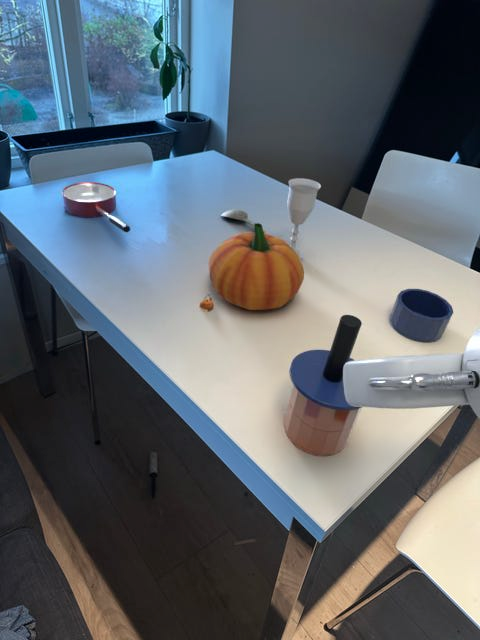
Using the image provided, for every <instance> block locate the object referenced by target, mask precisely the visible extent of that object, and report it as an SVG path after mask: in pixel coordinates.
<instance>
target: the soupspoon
mask: <svg viewBox="0 0 480 640" xmlns="http://www.w3.org/2000/svg"><path fill="white" fill-rule="evenodd" d="M220 216H221V217H224V218H228V219H235V220H239V221H243V222H245V223H247V224H249V225H251V226H252V227H254V224H255V223H253V221H250V220H248V217H249V216H248V213H247V212H246V211H244V210H242V209H238V208H237V209H236V208H235V209H229V210H226V211H224V212H223V213H222V214H221V215H220ZM263 231H264V233H265V234H268V235H270V234H269V233H268V232H267V231H265V230H264V229H263Z"/></svg>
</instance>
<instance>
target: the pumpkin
mask: <svg viewBox="0 0 480 640" xmlns="http://www.w3.org/2000/svg"><path fill="white" fill-rule="evenodd" d="M253 224H254V226H253V231H254V232H239V233H236V234H235V235H233V236H231V237H229V238H228V239H226V240H223V242H221V244H220V245H219V246H218V247H216V248H215V250H214V251H212V252H211V255H210V257H209V260H208V272H209V279H210V283H211V285H212V286H213V288H214V290H215V291H216V292H217V294H218V295H219V296H220V298H221V299H223V300H225V301H226V302H228V303H230V304H232V305H234V306H237V307H239V308H242V309H246V310H248V311H261V310H262V311H263V310H272V309H279V308H282V307H283V306H284V305H285V304H287V303H288V302H290V301H291V300H292V299H293V298H294V297H295V296H296V295H297V294H298V292H299V290H300V288H301V286H302V284H303V282H304V280H305V270H304V269H305V268H304V267H303V264H302V260H300V259H299V257H298V255H297V254H296V252H295V251H294V250H293V249H292V248H291V247H290V245H289V244H288V242H286V240H283V239H282V238H280V237H277V236H273V235H271V234H269V233H268V234H269V235H268V234H265V233H264V231H265V230H264V228H263V225H262V224H261V223H259V222H256V223H253ZM263 230H264V231H263Z"/></svg>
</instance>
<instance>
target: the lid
mask: <svg viewBox="0 0 480 640" xmlns="http://www.w3.org/2000/svg"><path fill="white" fill-rule="evenodd" d="M362 325H363V323H362V321H361V319H360V318H359V317H357V316H355V315H352V314H343V315H341V317H340V318H339V321H338V325H337V328H336V331H335V334H334V337H333V340H332V344H331V347H330V349H329V350H328V349H309V350H306V351H303V352H301V353H299V354H297V355H296V356H295V357H294V358H293V359H292V361H291V362H290V365H289V372H288V374H289V378H290V381H291V384H292V386H293V385H294V386H295V388H296V389H297V390H298V391H299V392H300V393H301V394H302V395H303V396H305V397H306V398H307V399H309V400H311V401H312V402H314V403H316V404H318V405H321V406H323V407H326V408H330V409H335V410H355V409H359V408H361V407H355V406H351V405H349V404H348V403H347V401H346V398H345V392H344V384H343V367H344V365H345V363H347V362H349V361H354V360H355V359H354V358H352V357H351V355H352V352H353V350H354V348H355V347H354V346H355V344H356V342H357V338H358V336H359V333H360V331H361V328H362ZM361 409H362V408H361Z"/></svg>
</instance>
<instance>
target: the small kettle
mask: <svg viewBox="0 0 480 640" xmlns="http://www.w3.org/2000/svg"><path fill="white" fill-rule="evenodd" d="M208 296H209V299H207V297H208ZM212 301H213V297H211V294H209V293H208V294H207V295H206V296H205V297H204V299H203V300H201V301H200V302H199V310H201V311H202V312H210V311H211V310H212V309H213V308H214V303H213V302H212Z"/></svg>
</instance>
